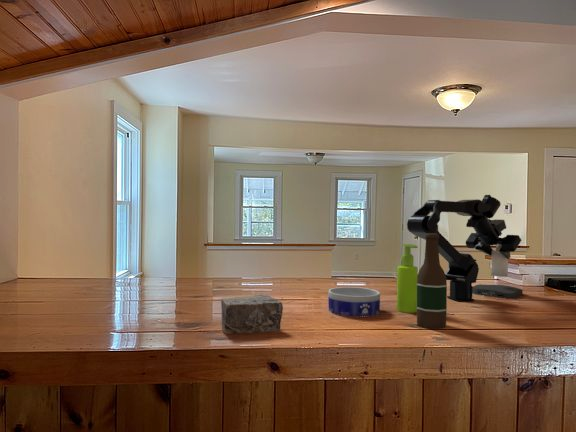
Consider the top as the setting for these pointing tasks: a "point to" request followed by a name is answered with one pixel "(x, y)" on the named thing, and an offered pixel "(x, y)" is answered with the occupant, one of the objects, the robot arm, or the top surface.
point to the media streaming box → (498, 291)
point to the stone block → (251, 314)
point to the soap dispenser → (407, 282)
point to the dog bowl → (354, 301)
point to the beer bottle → (431, 288)
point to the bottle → (498, 263)
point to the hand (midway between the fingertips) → (501, 257)
